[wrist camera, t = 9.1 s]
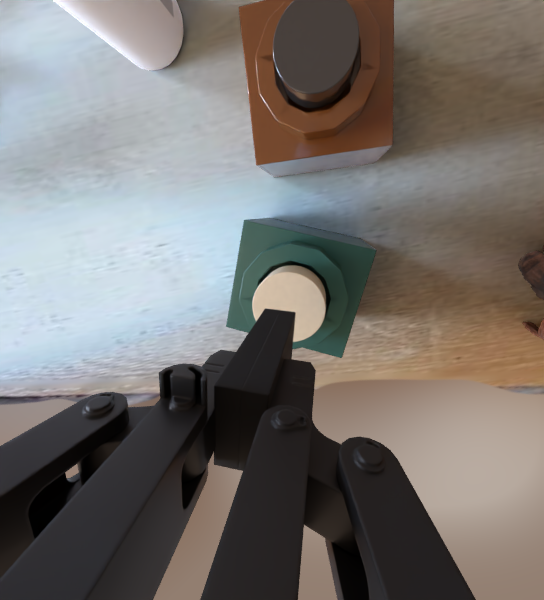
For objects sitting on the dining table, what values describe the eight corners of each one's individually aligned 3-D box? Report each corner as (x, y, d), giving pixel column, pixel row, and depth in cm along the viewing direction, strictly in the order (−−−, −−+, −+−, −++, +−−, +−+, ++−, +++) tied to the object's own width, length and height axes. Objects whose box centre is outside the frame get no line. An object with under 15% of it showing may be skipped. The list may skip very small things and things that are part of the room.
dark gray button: (354, 10, 17) (358, -23, 15) (356, 101, 19) (360, 84, 16) (275, 29, 18) (268, 1, 16) (283, 114, 20) (277, 101, 17)
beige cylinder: (333, 274, 20) (334, 282, 18) (316, 335, 22) (315, 350, 19) (267, 258, 21) (259, 264, 18) (255, 318, 22) (246, 331, 20)
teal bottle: (361, 238, 30) (381, 253, 19) (337, 316, 33) (343, 371, 22) (268, 217, 31) (236, 220, 20) (253, 295, 34) (217, 336, 23)
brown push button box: (374, 39, 25) (402, -66, 16) (375, 163, 28) (400, 137, 18) (262, 63, 27) (228, -16, 18) (273, 177, 30) (249, 160, 20)
